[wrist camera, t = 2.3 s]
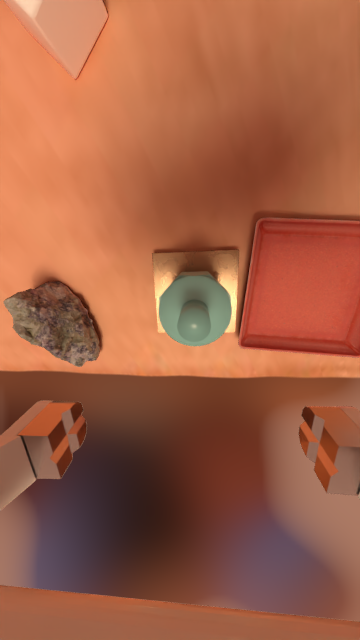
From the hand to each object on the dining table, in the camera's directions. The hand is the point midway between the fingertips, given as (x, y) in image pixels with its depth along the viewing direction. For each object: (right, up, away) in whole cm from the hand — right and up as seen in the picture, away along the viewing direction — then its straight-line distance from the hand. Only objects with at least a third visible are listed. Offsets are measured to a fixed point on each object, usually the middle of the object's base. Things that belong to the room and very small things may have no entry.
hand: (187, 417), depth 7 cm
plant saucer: (+18, +8, +23) cm, 30 cm away
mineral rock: (-19, +4, +27) cm, 33 cm away
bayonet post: (+2, +8, +24) cm, 25 cm away
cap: (+2, +6, +17) cm, 19 cm away
